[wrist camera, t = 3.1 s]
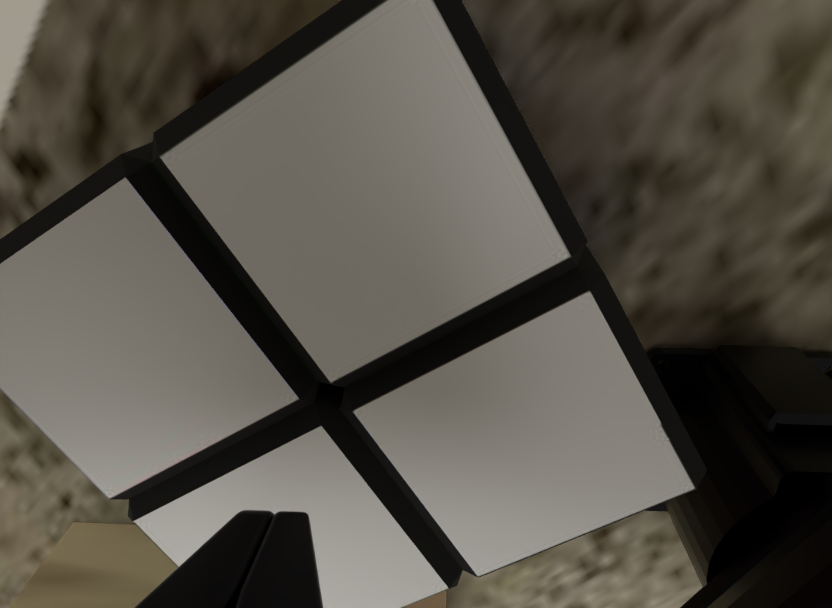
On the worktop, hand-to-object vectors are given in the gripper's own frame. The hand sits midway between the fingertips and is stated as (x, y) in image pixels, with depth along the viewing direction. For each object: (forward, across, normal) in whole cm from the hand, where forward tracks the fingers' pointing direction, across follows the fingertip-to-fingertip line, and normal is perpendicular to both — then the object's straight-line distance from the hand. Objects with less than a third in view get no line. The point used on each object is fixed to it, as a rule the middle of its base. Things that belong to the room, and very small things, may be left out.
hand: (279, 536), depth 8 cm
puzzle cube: (+13, 0, 0) cm, 13 cm away
